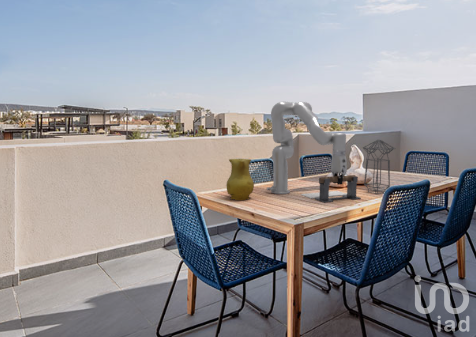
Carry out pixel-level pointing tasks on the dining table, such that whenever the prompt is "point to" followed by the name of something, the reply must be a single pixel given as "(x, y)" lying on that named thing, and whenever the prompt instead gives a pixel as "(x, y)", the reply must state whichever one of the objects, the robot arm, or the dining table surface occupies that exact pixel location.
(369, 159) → the geometric lantern
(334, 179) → the rod
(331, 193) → the mat
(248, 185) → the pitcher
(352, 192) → the rack
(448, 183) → the dining table surface
